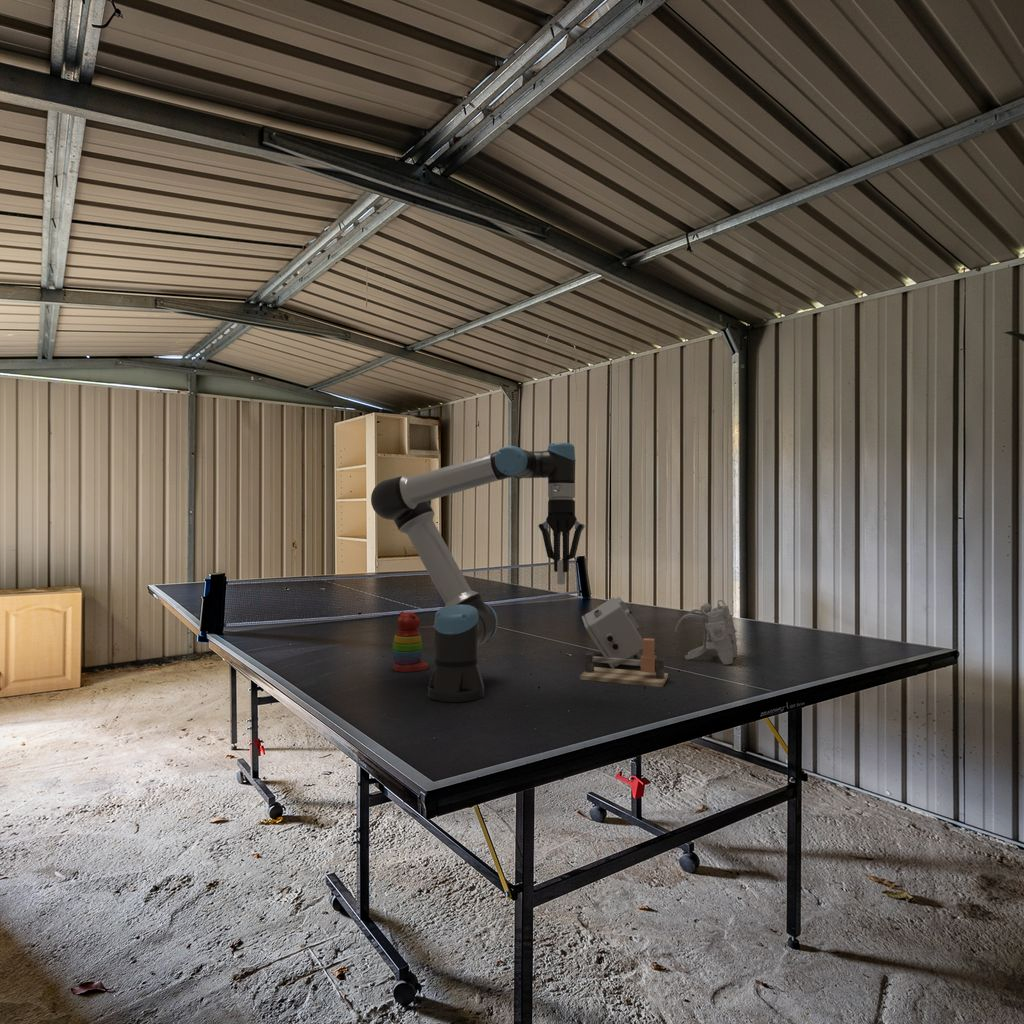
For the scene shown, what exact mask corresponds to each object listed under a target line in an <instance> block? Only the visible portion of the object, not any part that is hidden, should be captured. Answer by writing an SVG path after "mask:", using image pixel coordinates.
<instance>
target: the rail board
mask: <svg viewBox="0 0 1024 1024" xmlns="http://www.w3.org/2000/svg"><path fill="white" fill-rule="evenodd" d="M584 657H585V659H584V660H585V661H584V663H585V664H584V668H585V669H584V671H583V672H582V673H581V674H580V675H579V681H580V680H582V681H592V682H603V683H613V684H623V685H624V684H625V685H635V686H643V687H644V686H645V687H655V688H656V687H657V688H663V687H664V685H665V684H666V681H667V679H668V678H669V673H668V672H665V658H663V657H661V658H660V657H657V659H656V661H655V667H656V671H655V673H649V672H641V670H633V669H621V668H613V669H612V668H611V667H610V668H608V667H601V666H600V667H597V666H595V663H599V664H600V663H601V664H602V663H603V664H608V663H612V664H620V665H627V666H639V667H641V660H634V659H621V658H609V657H604V656H595V653H594V652H586V653H585V654H584Z"/></svg>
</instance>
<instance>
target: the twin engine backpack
mask: <svg viewBox="0 0 1024 1024" xmlns="http://www.w3.org/2000/svg"><path fill="white" fill-rule="evenodd" d="M720 602H722V603H723V605H721V604H720ZM694 612H695V613H694ZM696 612H697V613H701V615H699V614H696ZM730 612H731V611H730V608H729V606H728V605H726V603H725V602H724V600H723V599H719V600H717V607H713V608H712V605H711V604H710V603H708V602H705V603H703V604H702V605H700V609H696V608H695V609H692V610H690V611H689V612H688V613H687V614H684V615H683V616H681V617H680V619H678V621H677V624H676V626H675V629H674V630H675V631H674V632H675V633H677V630H678V626H679V625H680V624H681V622H682V621H683V620H684V619H685V620H688V618H693V619H697V620H699V621H700V622H701V623H702V627H703V645H702V646H698V647H696V648H693V649H691V650H689V651H688V652H687V654H685V655H684V659H685V660H691V659H695V658H698V657H700V656H701V655H703V654H704V653H705V652H708V650H715V651H717V654H718V658H719V660H720V662H721V663H722V664H723V665H731V664H733V663H734V658H736V657H738V645H737V642H738V641H737V636H736V633H737V632H738V631H737V630H736V628H735V625H734V624H735V623H734V620H733V614H731V613H730Z"/></svg>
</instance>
